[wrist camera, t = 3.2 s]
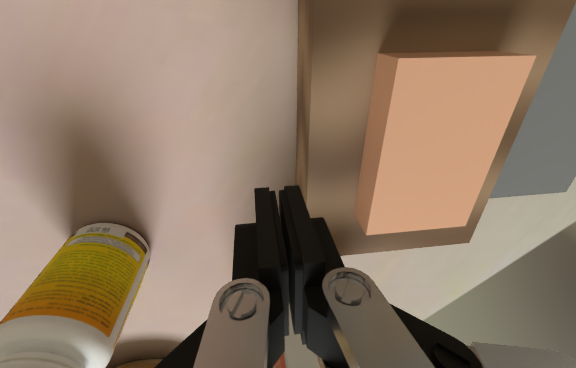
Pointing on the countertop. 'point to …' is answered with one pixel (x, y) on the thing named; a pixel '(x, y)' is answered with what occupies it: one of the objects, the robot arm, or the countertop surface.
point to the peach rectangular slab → (434, 135)
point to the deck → (359, 83)
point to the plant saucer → (141, 363)
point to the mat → (546, 129)
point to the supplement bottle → (77, 302)
